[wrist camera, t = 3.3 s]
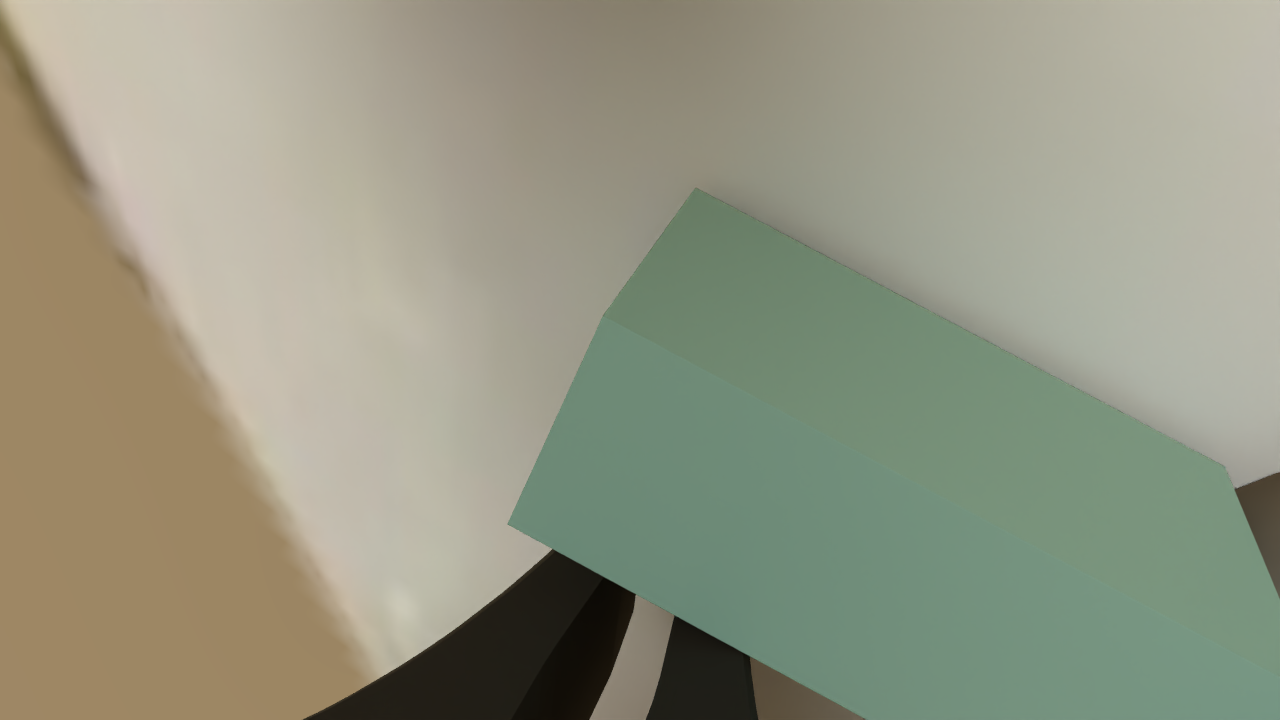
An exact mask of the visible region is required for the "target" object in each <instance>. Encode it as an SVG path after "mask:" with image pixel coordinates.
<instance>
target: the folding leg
mask: <svg viewBox="0 0 1280 720" xmlns="http://www.w3.org/2000/svg"><path fill="white" fill-rule="evenodd" d="M508 525H510V526H511V527H513V528H515V529H517V530H519V531H521V532H523V533H524V534H526V535H528V536H530V537H532V538H534V539H535V540H537V541H539V542H541V543H543V544H545V545H546V546H548V547H550V548H552V549H554V550H556V551H557V552H559V553H561V554H563V555H565V556H567V557H568V558H570V559H572V560H574V561H576V562H578V563H579V564H581V565H583V566H585V567H587V568H589V569H591V570H592V571H594V572H596V573H598V574H600V575H602V576H603V577H605V578H607V579H609V580H611V581H613V582H614V583H616V584H618V585H620V586H622V587H624V588H625V589H627V590H629V591H631V592H633V593H635V594H636V595H638V596H640V597H642V598H644V599H646V600H647V601H649V602H651V603H653V604H655V605H657V606H658V607H660V608H662V609H664V610H666V611H668V612H670V613H671V614H673V615H675V616H677V617H679V618H681V619H682V620H684V621H686V622H688V623H690V624H692V625H693V626H695V627H697V628H699V629H701V630H703V631H704V632H706V633H708V634H710V635H712V636H714V637H715V638H717V639H719V640H721V641H723V642H725V643H726V644H728V645H730V646H732V647H734V648H736V649H737V650H739V651H741V652H743V653H745V654H747V655H749V656H750V657H752V658H754V659H756V660H758V661H760V662H761V663H763V664H765V665H767V666H769V667H771V668H772V669H774V670H776V671H778V672H780V673H782V674H783V675H785V676H787V677H789V678H791V679H793V680H794V681H796V682H798V683H800V684H802V685H804V686H805V687H807V688H809V689H811V690H813V691H815V692H817V693H818V694H820V695H822V696H824V697H826V698H828V699H829V700H831V701H833V702H835V703H837V704H839V705H840V706H842V707H844V708H846V709H848V710H850V711H851V712H853V713H855V714H857V715H859V716H861V717H862V718H864V719H866V720H1280V598H1279V596H1278V594H1277V591H1276V589H1275V586H1274V584H1273V582H1272V579H1271V577H1270V574H1269V572H1268V570H1267V567H1266V565H1265V562H1264V560H1263V557H1262V555H1261V553H1260V550H1259V548H1258V545H1257V543H1256V541H1255V538H1254V536H1253V533H1252V531H1251V529H1250V526H1249V524H1248V521H1247V519H1246V517H1245V514H1244V512H1243V509H1242V507H1241V504H1240V502H1239V500H1238V497H1237V495H1236V492H1235V490H1234V488H1233V485H1232V483H1231V480H1230V478H1229V476H1228V473H1227V471H1226V468H1225V467H1224V466H1222V465H1221V464H1219V463H1217V462H1215V461H1213V460H1211V459H1209V458H1207V457H1205V456H1204V455H1202V454H1200V453H1198V452H1196V451H1194V450H1192V449H1190V448H1188V447H1186V446H1185V445H1183V444H1181V443H1179V442H1177V441H1175V440H1173V439H1171V438H1169V437H1167V436H1166V435H1164V434H1162V433H1160V432H1158V431H1156V430H1154V429H1152V428H1150V427H1149V426H1147V425H1145V424H1143V423H1141V422H1139V421H1137V420H1135V419H1133V418H1131V417H1130V416H1128V415H1126V414H1124V413H1122V412H1120V411H1118V410H1116V409H1114V408H1112V407H1111V406H1109V405H1107V404H1105V403H1103V402H1101V401H1099V400H1097V399H1095V398H1093V397H1092V396H1090V395H1088V394H1086V393H1084V392H1082V391H1080V390H1078V389H1076V388H1075V387H1073V386H1071V385H1069V384H1067V383H1065V382H1063V381H1061V380H1059V379H1057V378H1056V377H1054V376H1052V375H1050V374H1048V373H1046V372H1044V371H1042V370H1040V369H1038V368H1037V367H1035V366H1033V365H1031V364H1029V363H1027V362H1025V361H1023V360H1021V359H1020V358H1018V357H1016V356H1014V355H1012V354H1010V353H1008V352H1006V351H1004V350H1002V349H1001V348H999V347H997V346H995V345H993V344H991V343H989V342H987V341H985V340H983V339H982V338H980V337H978V336H976V335H974V334H972V333H970V332H968V331H966V330H965V329H963V328H961V327H959V326H957V325H955V324H953V323H951V322H949V321H947V320H946V319H944V318H942V317H940V316H938V315H936V314H934V313H932V312H930V311H928V310H927V309H925V308H923V307H921V306H919V305H917V304H915V303H913V302H911V301H909V300H908V299H906V298H904V297H902V296H900V295H898V294H896V293H894V292H892V291H891V290H889V289H887V288H885V287H883V286H881V285H879V284H877V283H875V282H873V281H872V280H870V279H868V278H866V277H864V276H862V275H860V274H858V273H856V272H854V271H853V270H851V269H849V268H847V267H845V266H843V265H841V264H839V263H837V262H836V261H834V260H832V259H830V258H828V257H826V256H824V255H822V254H820V253H818V252H817V251H815V250H813V249H811V248H809V247H807V246H805V245H803V244H801V243H799V242H798V241H796V240H794V239H792V238H790V237H788V236H786V235H784V234H782V233H781V232H779V231H777V230H775V229H773V228H771V227H769V226H767V225H765V224H763V223H762V222H760V221H758V220H756V219H754V218H752V217H750V216H748V215H746V214H744V213H743V212H741V211H739V210H737V209H735V208H733V207H731V206H729V205H727V204H725V203H724V202H722V201H720V200H718V199H716V198H714V197H712V196H710V195H708V194H707V193H705V192H703V191H701V190H699V189H697V188H695V189H694V191H693V192H692V193H691V195H690V196H689V198H688V199H687V200H686V202H685V203H684V204H683V206H682V207H681V209H680V210H679V211H678V213H677V214H676V216H675V217H674V218H673V220H672V221H671V222H670V224H669V225H668V227H667V228H666V229H665V231H664V232H663V234H662V235H661V236H660V238H659V239H658V240H657V242H656V243H655V245H654V246H653V247H652V249H651V250H650V252H649V253H648V254H647V256H646V257H645V258H644V260H643V261H642V263H641V264H640V265H639V267H638V268H637V270H636V271H635V272H634V274H633V275H632V276H631V278H630V279H629V281H628V282H627V283H626V285H625V286H624V288H623V289H622V290H621V292H620V293H619V294H618V296H617V297H616V299H615V300H614V301H613V303H612V304H611V305H610V307H609V308H608V310H607V311H606V312H605V314H604V315H603V317H602V319H601V321H600V324H599V326H598V328H597V330H596V332H595V334H594V337H593V339H592V341H591V343H590V345H589V348H588V350H587V352H586V354H585V356H584V358H583V361H582V363H581V365H580V367H579V369H578V372H577V374H576V376H575V378H574V380H573V382H572V385H571V387H570V389H569V391H568V393H567V396H566V398H565V400H564V402H563V404H562V406H561V409H560V411H559V413H558V415H557V417H556V419H555V422H554V424H553V426H552V428H551V430H550V433H549V435H548V437H547V439H546V441H545V443H544V446H543V448H542V450H541V452H540V454H539V457H538V459H537V461H536V463H535V465H534V467H533V470H532V472H531V474H530V476H529V478H528V481H527V483H526V485H525V487H524V489H523V491H522V494H521V496H520V498H519V500H518V502H517V505H516V507H515V509H514V511H513V513H512V515H511V518H510V520H509V522H508Z"/></svg>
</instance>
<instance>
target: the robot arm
mask: <svg viewBox="0 0 1280 720" xmlns="http://www.w3.org/2000/svg"><path fill="white" fill-rule="evenodd" d="M635 596H636V594H635V593H633V592H631V591H629V590H627V589H625V588H624V587H622V586H620V585H618V584H616V583H614V582H613V581H611V580H609V579H607V578H605V577H603V576H602V575H600V574H598V573H596V572H594V571H592V570H591V569H589V568H587V567H585V566H583V565H581V564H579V563H578V562H576V561H574V560H572V559H570V558H568V557H567V556H565V555H563V554H561V553H559V552H557V551H556V550H554V549H552V550H551V551H550V552H549V553H548V554H547V555H546V556H545V557H544V558H542V559H541V560H540V561H539V562H538V563H537V564H536V565H534V566H533V567H532V568H531V569H530V570H529V571H527V572H526V573H525V574H524V575H523V576H522V577H521V578H519V579H518V580H517V581H516V582H515V583H514V584H512V585H511V586H510V587H509V588H508V589H506V590H505V591H504V592H503V593H502V594H500V595H499V596H498V597H496V598H495V599H494V600H493V601H491V602H490V603H489V604H487V605H486V606H485V607H483V608H482V609H481V610H480V611H478V612H477V613H476V614H474V615H473V616H472V617H470V618H469V619H468V620H467V621H465V622H464V623H463V624H461V625H460V626H459V627H457V628H456V629H455V630H453V631H452V632H450V633H449V634H447V635H446V636H445V637H443V638H442V639H440V640H439V641H437V642H436V643H434V644H433V645H432V646H430V647H429V648H427V649H426V650H424V651H423V652H421V653H419V654H418V655H416V656H415V657H413V658H412V659H410V660H409V661H407V662H406V663H404V664H402V665H401V666H399V667H398V668H396V669H394V670H393V671H391V672H389V673H388V674H386V675H384V676H382V677H381V678H379V679H377V680H376V681H374V682H372V683H371V684H369V685H367V686H365V687H364V688H362V689H360V690H359V691H357V692H355V693H353V694H352V695H350V696H348V697H346V698H344V699H342V700H341V701H339V702H337V703H335V704H333V705H331V706H329V707H328V708H326V709H324V710H322V711H320V712H318V713H316V714H314V715H312V716H309V717H307V718H305V719H303V720H589V719H590V717H591V715H592V713H593V711H594V708H595V706H596V704H597V702H598V700H599V698H600V696H601V694H602V692H603V690H604V688H605V686H606V684H607V682H608V679H609V677H610V675H611V672H612V670H613V667H614V664H615V661H616V659H617V656H618V653H619V650H620V648H621V645H622V642H623V639H624V636H625V633H626V631H627V628H628V625H629V622H630V619H631V616H632V613H633V610H634V603H635ZM646 720H758V716H757V709H756V703H755V697H754V690H753V682H752V675H751V664H750V656H749V655H747V654H745V653H743V652H741V651H739V650H737V649H736V648H734V647H732V646H730V645H728V644H726V643H725V642H723V641H721V640H719V639H717V638H715V637H714V636H712V635H710V634H708V633H706V632H704V631H703V630H701V629H699V628H697V627H695V626H693V625H692V624H690V623H688V622H686V621H684V620H682V619H681V618H679V617H677V616H674V620H673V625H672V629H671V633H670V637H669V642H668V646H667V650H666V654H665V658H664V663H663V667H662V671H661V675H660V679H659V682H658V686H657V689H656V692H655V696H654V699H653V702H652V705H651V708H650V710H649V713H648V716H647V718H646Z"/></svg>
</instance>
